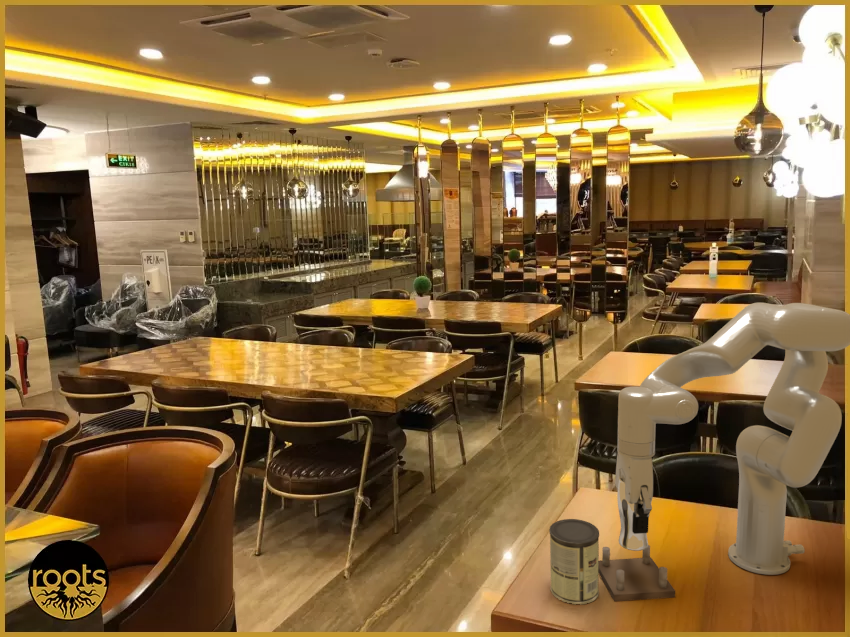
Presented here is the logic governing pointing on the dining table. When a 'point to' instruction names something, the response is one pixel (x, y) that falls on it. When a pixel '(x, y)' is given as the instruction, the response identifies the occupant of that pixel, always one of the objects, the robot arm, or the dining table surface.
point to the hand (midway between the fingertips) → (633, 523)
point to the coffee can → (574, 561)
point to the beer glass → (629, 522)
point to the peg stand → (634, 577)
